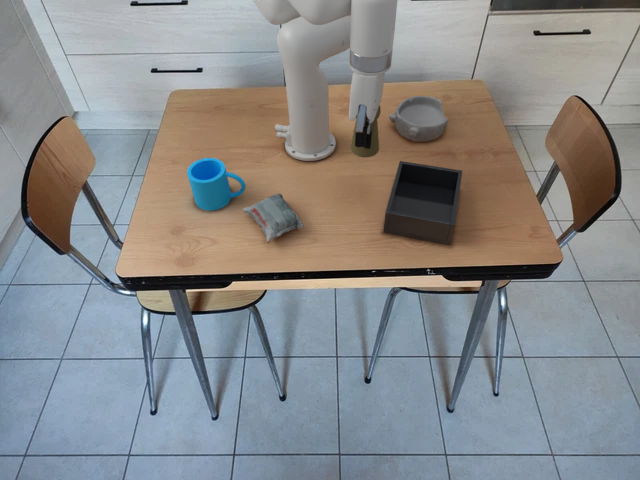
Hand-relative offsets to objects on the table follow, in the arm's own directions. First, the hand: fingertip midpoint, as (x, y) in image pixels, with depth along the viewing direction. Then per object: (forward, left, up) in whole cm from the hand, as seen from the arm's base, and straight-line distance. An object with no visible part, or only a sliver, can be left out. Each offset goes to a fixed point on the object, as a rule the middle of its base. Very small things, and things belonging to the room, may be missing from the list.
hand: (365, 139), depth 101 cm
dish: (+9, +26, -14) cm, 31 cm away
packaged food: (-16, -16, -14) cm, 27 cm away
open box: (+14, -4, -14) cm, 20 cm away
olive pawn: (0, 0, -2) cm, 2 cm away
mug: (-30, -11, -14) cm, 35 cm away
